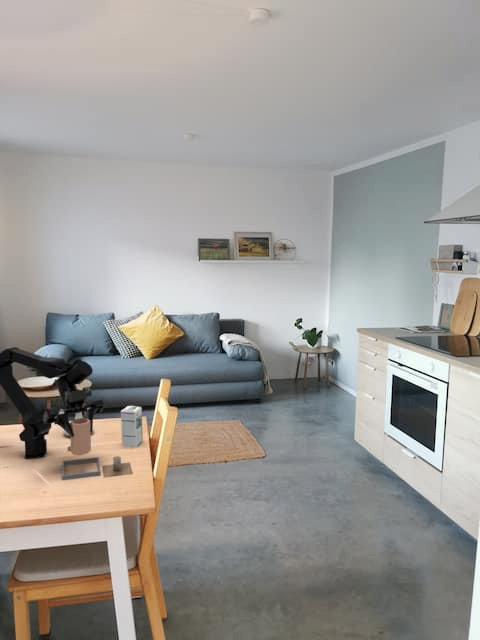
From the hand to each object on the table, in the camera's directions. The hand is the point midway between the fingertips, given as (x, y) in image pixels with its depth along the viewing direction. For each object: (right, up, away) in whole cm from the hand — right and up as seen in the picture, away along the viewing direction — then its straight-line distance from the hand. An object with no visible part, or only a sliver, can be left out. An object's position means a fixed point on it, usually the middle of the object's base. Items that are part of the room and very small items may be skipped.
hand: (82, 434), depth 160 cm
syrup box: (+10, -10, +25) cm, 29 cm away
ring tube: (-1, -6, +2) cm, 6 cm away
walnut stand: (+10, -13, +4) cm, 17 cm away
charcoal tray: (-1, -13, +3) cm, 13 cm away
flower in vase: (-13, -8, +36) cm, 39 cm away
